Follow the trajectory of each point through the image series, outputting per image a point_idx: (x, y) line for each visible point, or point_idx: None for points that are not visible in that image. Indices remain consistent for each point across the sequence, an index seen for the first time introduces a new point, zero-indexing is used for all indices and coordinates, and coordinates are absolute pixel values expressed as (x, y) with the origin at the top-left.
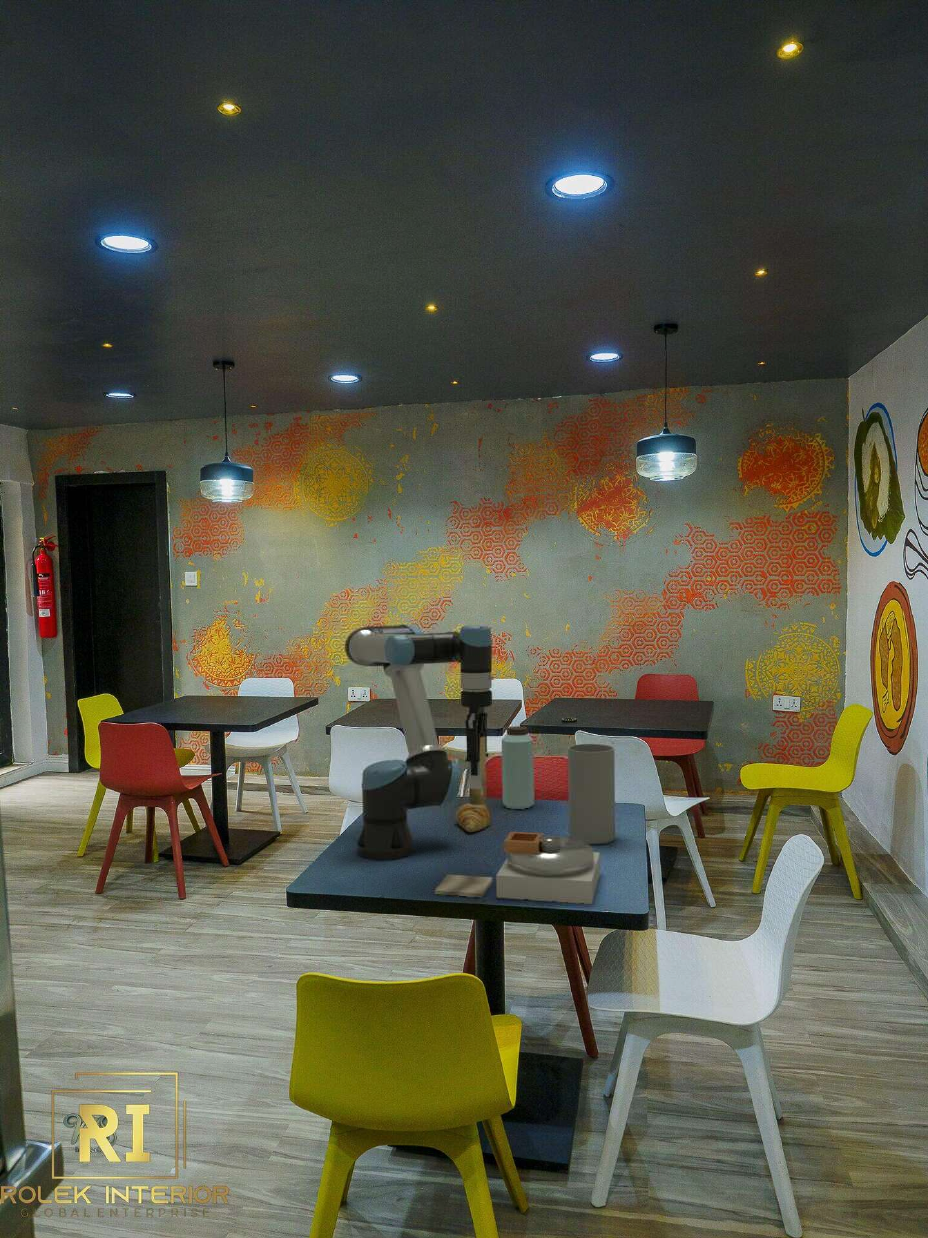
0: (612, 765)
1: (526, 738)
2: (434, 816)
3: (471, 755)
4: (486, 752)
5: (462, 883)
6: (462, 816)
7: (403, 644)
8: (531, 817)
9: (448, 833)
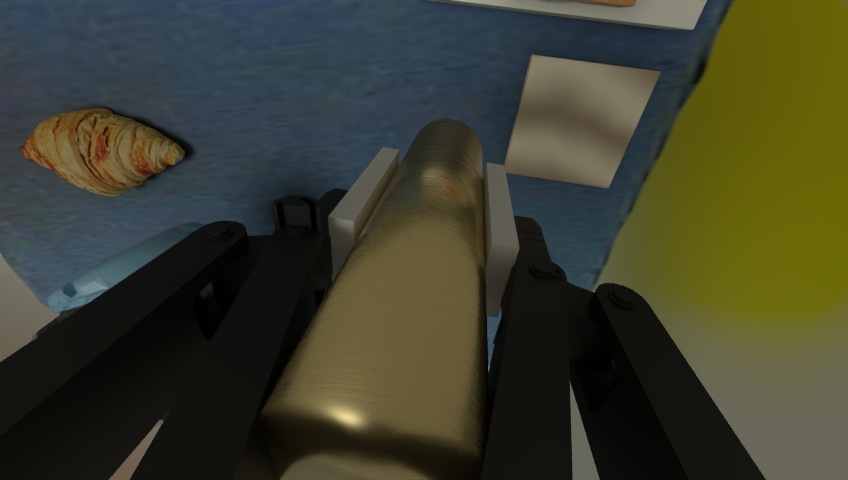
0: None
1: None
2: (111, 230)
3: (607, 359)
4: (230, 221)
5: (570, 132)
6: (131, 179)
7: None
8: None
9: (202, 194)
